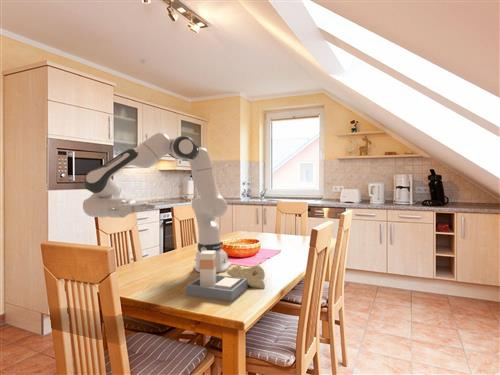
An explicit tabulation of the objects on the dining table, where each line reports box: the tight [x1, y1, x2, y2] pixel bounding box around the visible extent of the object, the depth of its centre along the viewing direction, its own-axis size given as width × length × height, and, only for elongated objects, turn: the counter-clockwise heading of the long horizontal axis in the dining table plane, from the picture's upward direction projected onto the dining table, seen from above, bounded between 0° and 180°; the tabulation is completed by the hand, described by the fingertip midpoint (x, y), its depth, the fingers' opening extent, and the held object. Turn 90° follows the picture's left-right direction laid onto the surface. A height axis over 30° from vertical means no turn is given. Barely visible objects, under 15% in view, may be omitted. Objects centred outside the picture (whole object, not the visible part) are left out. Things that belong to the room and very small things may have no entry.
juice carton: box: [199, 250, 217, 288], centre depth 131 cm, size 6×6×16 cm
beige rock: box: [226, 264, 266, 290], centre depth 139 cm, size 15×7×15 cm
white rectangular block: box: [214, 277, 240, 290], centre depth 128 cm, size 10×7×4 cm
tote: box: [185, 274, 249, 303], centre depth 130 cm, size 16×20×5 cm
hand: (150, 207), depth 137 cm, fingers open, 8 cm apart
